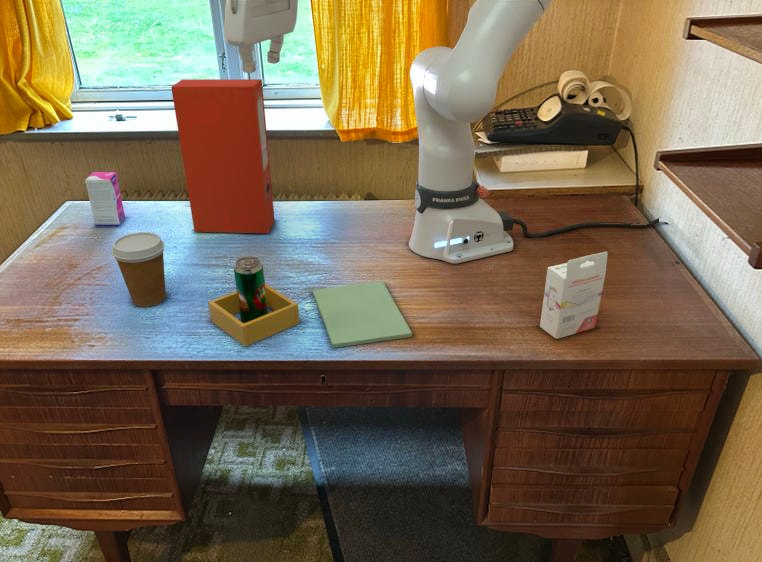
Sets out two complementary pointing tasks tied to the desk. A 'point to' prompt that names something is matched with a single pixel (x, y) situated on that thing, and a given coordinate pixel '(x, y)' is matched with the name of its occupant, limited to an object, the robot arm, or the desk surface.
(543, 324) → the ink cartridge box
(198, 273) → the desk surface
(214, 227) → the file binder
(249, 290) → the soda can
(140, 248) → the disposable coffee cup
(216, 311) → the frame
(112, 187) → the supplement box
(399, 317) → the green mat
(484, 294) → the desk surface
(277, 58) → the robot arm
